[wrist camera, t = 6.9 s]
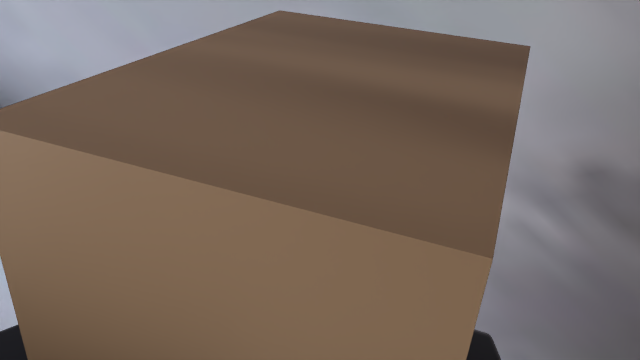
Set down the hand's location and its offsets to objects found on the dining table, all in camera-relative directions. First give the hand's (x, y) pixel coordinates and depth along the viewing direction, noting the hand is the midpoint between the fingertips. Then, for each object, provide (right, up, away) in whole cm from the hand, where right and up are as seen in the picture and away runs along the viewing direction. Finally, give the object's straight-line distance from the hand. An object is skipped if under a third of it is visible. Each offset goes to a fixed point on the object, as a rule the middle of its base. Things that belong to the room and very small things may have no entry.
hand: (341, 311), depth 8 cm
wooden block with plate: (0, -3, +3) cm, 4 cm away
